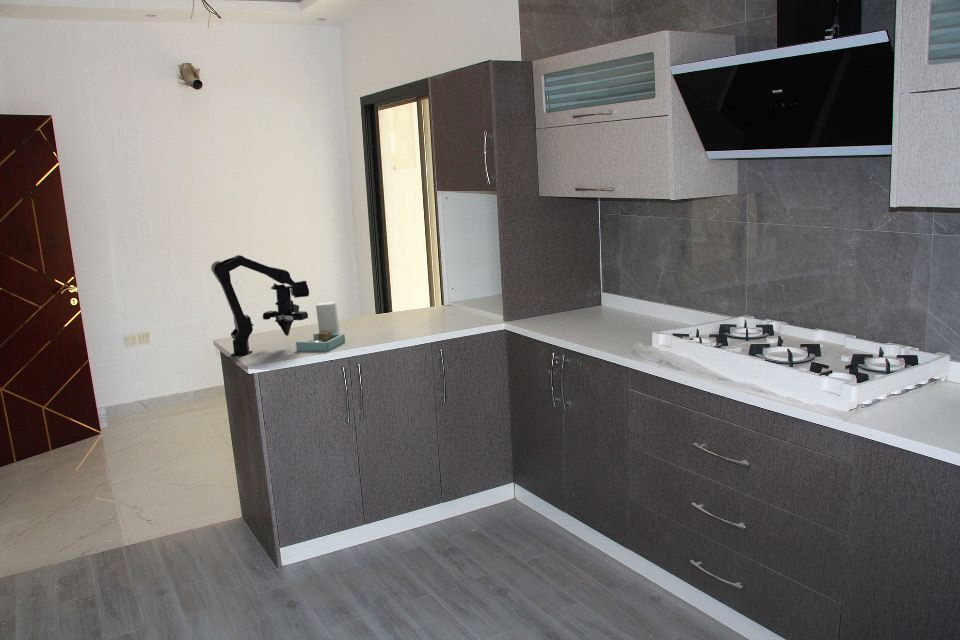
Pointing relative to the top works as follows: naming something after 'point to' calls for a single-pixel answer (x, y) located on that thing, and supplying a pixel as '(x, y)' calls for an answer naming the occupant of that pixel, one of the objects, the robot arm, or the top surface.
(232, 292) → the robot arm
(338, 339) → the parts bay
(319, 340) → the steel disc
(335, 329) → the skincare box
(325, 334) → the walnut block
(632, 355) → the top surface
